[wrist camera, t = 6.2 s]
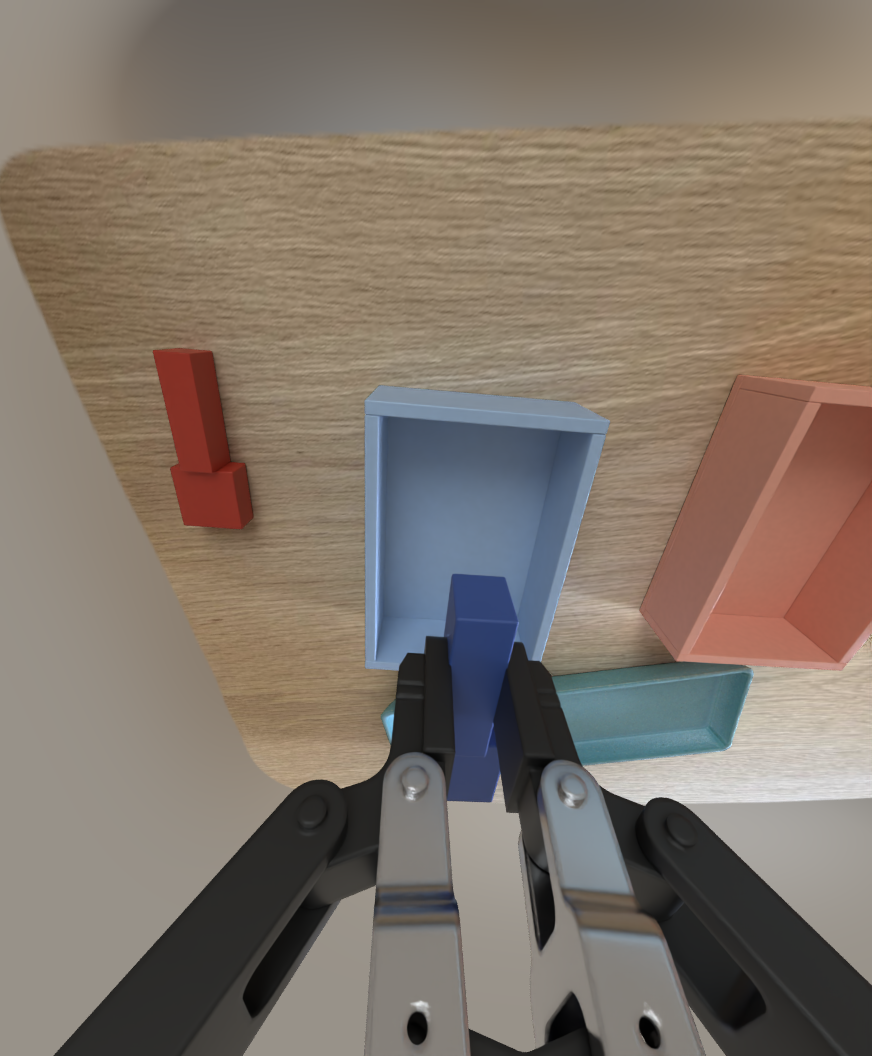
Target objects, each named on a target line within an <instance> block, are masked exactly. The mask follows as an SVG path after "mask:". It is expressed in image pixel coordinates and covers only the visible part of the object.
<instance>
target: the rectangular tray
mask: <svg viewBox="0 0 872 1056" xmlns="http://www.w3.org/2000/svg"><path fill="white" fill-rule="evenodd" d="M753 674H754V673H753V670H752V669H751V668H749V667H746V666H744V665H736V664H719V663H702V662H685V661H683V662H674V663H665V664H657V665H648V666H639V667H630V668H621V669H613V670H604V671H595V672H587V673H578V674H570V675H562V676H553V677H552V679H553V682H554V685H555V688H556V694H558V697H559V700H560V703H561V708H562V709H563V712H564V715H565V718H566V721H567V724H568V727H569V730H570V733H571V736H572V739H573V742H574V745H575V748H576V751H577V754H578V757H579V760H580V762H581V764H582V766H584V765H595V764H604V763H614V762H624V761H634V760H644V759H654V758H663V757H673V756H682V755H691V754H700V753H709V752H718V751H725V750H727V749H728V748H730V747H731V744H732V741H733V738H734V734H735V731H736V728H737V724H738V721H739V718H740V715H741V712H742V709H743V706H744V703H745V699H746V696H747V693H748V690H749V687H750V684H751V681H752V678H753ZM395 701H396V699H395V700H394V701H393V702H392V703H391V704H390V705H389V706H388V707H387V708H386V709H385V710H384V712H383V713H382V714H381V720H382V723H383V725H384V728H385V731H386V734H387V737H388V740H389V742H390V745H391V740H392V730H393V721H394V711H395ZM500 774H501V772H500Z"/></svg>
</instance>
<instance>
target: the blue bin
mask: <svg viewBox="0 0 872 1056" xmlns="http://www.w3.org/2000/svg"><path fill="white" fill-rule="evenodd" d="M365 414H366V415H365V668H367V669H384V670H399V665H400V664H401V662H402V661H403V659H404V657H405V656H406V654H407V653H422V654H424V648H425V639H426V636H438V637H444V630H445V622H446V615H447V607H448V600H449V592H450V584H451V577H452V575H453V574H468V575H484V576H499V577H505V578H506V581H507V585H508V588H509V592H510V595H511V598H512V602H513V605H514V608H515V612H516V615H517V619H518V622H519V624H518V628H517V632H516V636H515V640H514V642H522V643H523V644H524V647H525V650H526V654H527V657H528V660H533V661H540V662H541V659H542V656H543V652H544V649H545V645H546V642H547V638H548V635H549V632H550V628H551V625H552V621H553V618H554V614H555V611H556V607H557V604H558V600H559V597H560V593H561V590H562V587H563V583H564V580H565V576H566V573H567V569H568V566H569V562H570V559H571V555H572V552H573V548H574V545H575V542H576V538H577V535H578V531H579V528H580V524H581V521H582V517H583V514H584V510H585V507H586V503H587V500H588V497H589V493H590V490H591V486H592V483H593V479H594V476H595V472H596V469H597V465H598V462H599V458H600V455H601V452H602V448H603V445H604V441H605V438H606V435H605V434H607V431H608V427H609V424H610V421H609V420H607V419H605V418H603V417H602V416H600V415H598V414H596V413H594V412H592V411H590V410H588V409H586V408H585V407H583V406H581V405H579V404H577V403H575V402H566V401H555V400H543V399H532V398H520V397H509V396H497V395H486V394H474V393H463V392H451V391H440V390H429V389H417V388H406V387H394V386H383V385H379V386H378V387H377V388H376V389H375V390H374V391H373V392H372V393H371V394H370V395H369V397H368V398H367V399H366V400H365Z"/></svg>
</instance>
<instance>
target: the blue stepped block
mask: <svg viewBox="0 0 872 1056" xmlns="http://www.w3.org/2000/svg"><path fill="white" fill-rule="evenodd" d="M518 624H519V622H518V619H517V615H516V612H515V608H514V605H513V602H512V598H511V595H510V592H509V588H508V585H507V581H506V578H505V577H499V576H484V575H468V574H453V575H452V577H451V584H450V592H449V600H448V607H447V615H446V622H445V630H444V637H447V641H448V659H449V665H450V666H451V672H452V692H453V712H454V731H455V751H456V753H455V758H454V764H453V769H452V775H451V780H450V786H449V791H448V797H447V801H466V802H492V800H493V796H494V793H495V789H496V786H497V782H498V779H499V775H500V766H499V759H498V752H497V745H496V739H495V732H494V725H493V720H494V716H495V712H496V708H497V703H498V699H499V695H500V691H501V687H502V683H503V679H504V675H505V671H506V669H507V668H508V665H509V661H510V657H511V653H512V648H513V644H514V640H515V636H516V632H517V628H518Z"/></svg>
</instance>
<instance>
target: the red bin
mask: <svg viewBox="0 0 872 1056" xmlns="http://www.w3.org/2000/svg"><path fill="white" fill-rule="evenodd" d="M639 611H640V613H641V614H642V615H643V616H644V618H645V619H646V621H647V622H648V623H649V625H650V626H651V627H652V629H653V630H654V632H655V633H656V634H657V636H658V637H659V638H660V640H661V641H662V643H663V644H664V645H665V647H666V648H667V650H668V651H669V652H670V654H671V655H672V656H673V658H674V659H675V660H676V661H685V662H702V663H719V664H736V665H753V666H770V667H788V668H805V669H822V670H839V671H841V670H843V668H844V667H845V666H846V665H847V664H846V663H849V661H850V660H851V659H852V658H853V656H854V655H855V654H856V653H857V651H858V650H859V649H860V648H861V646H862V645H863V644H864V643H865V641H866V640H867V639H868V638H869V636H870V635H871V634H872V387H869V386H858V385H847V384H836V383H826V382H815V381H804V380H793V379H782V378H771V377H760V376H750V375H738V376H737V378H736V380H735V383H734V385H733V388H732V390H731V392H730V395H729V397H728V400H727V402H726V404H725V407H724V409H723V412H722V414H721V416H720V419H719V421H718V423H717V426H716V428H715V431H714V433H713V435H712V438H711V440H710V443H709V445H708V447H707V450H706V452H705V455H704V457H703V459H702V462H701V464H700V467H699V469H698V471H697V474H696V476H695V479H694V481H693V483H692V486H691V488H690V491H689V493H688V495H687V498H686V500H685V503H684V505H683V507H682V510H681V512H680V515H679V517H678V519H677V522H676V524H675V527H674V529H673V531H672V534H671V536H670V539H669V541H668V543H667V546H666V548H665V551H664V553H663V555H662V558H661V560H660V563H659V565H658V567H657V570H656V572H655V575H654V577H653V579H652V582H651V584H650V586H649V589H648V591H647V594H646V596H645V598H644V601H643V603H642V606H641V608H640V610H639Z"/></svg>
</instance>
